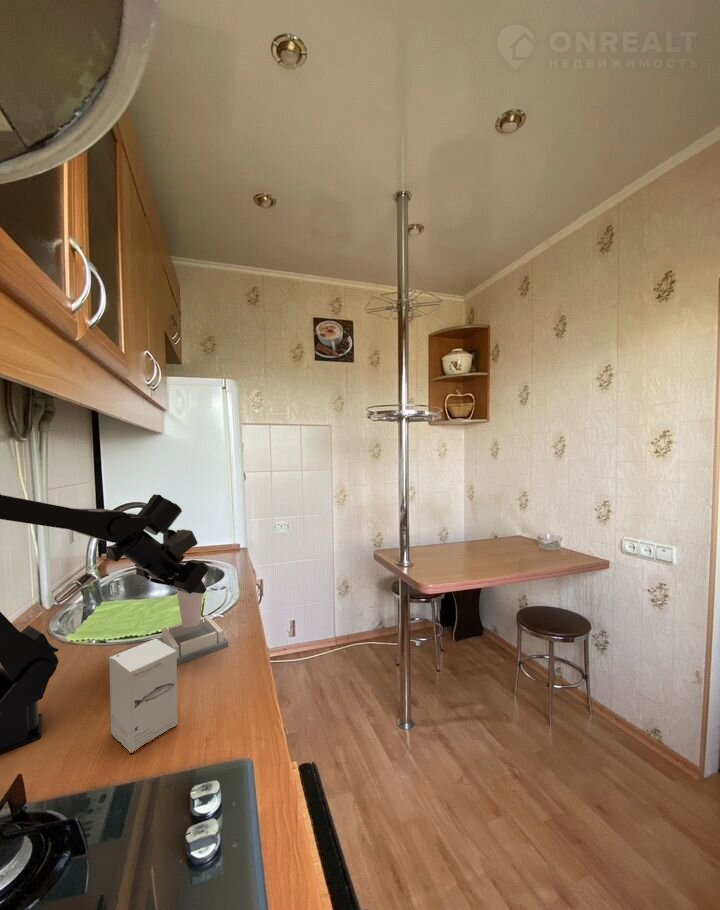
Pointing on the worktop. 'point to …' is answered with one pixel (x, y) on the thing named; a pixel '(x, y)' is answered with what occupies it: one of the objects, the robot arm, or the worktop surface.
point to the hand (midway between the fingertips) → (195, 588)
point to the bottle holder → (194, 639)
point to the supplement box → (143, 693)
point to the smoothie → (190, 607)
